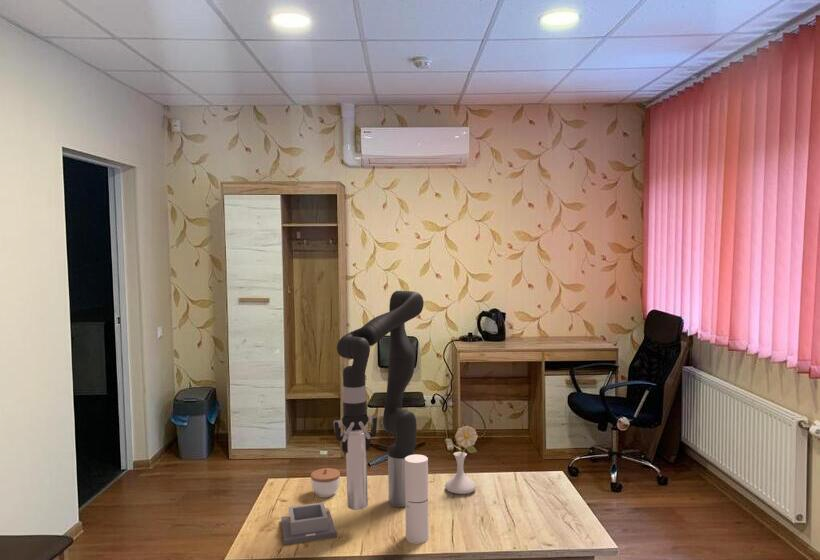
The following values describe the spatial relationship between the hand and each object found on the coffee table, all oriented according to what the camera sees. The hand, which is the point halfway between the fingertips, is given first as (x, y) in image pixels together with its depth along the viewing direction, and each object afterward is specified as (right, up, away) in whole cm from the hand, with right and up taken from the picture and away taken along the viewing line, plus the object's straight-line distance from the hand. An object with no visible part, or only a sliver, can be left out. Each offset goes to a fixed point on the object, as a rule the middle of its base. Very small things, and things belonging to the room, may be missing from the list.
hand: (356, 450), depth 179 cm
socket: (-16, -26, +3) cm, 31 cm away
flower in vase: (+37, -24, +30) cm, 53 cm away
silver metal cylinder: (0, -18, +1) cm, 18 cm away
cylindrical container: (+19, -26, -4) cm, 33 cm away
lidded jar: (-14, -25, +29) cm, 41 cm away
